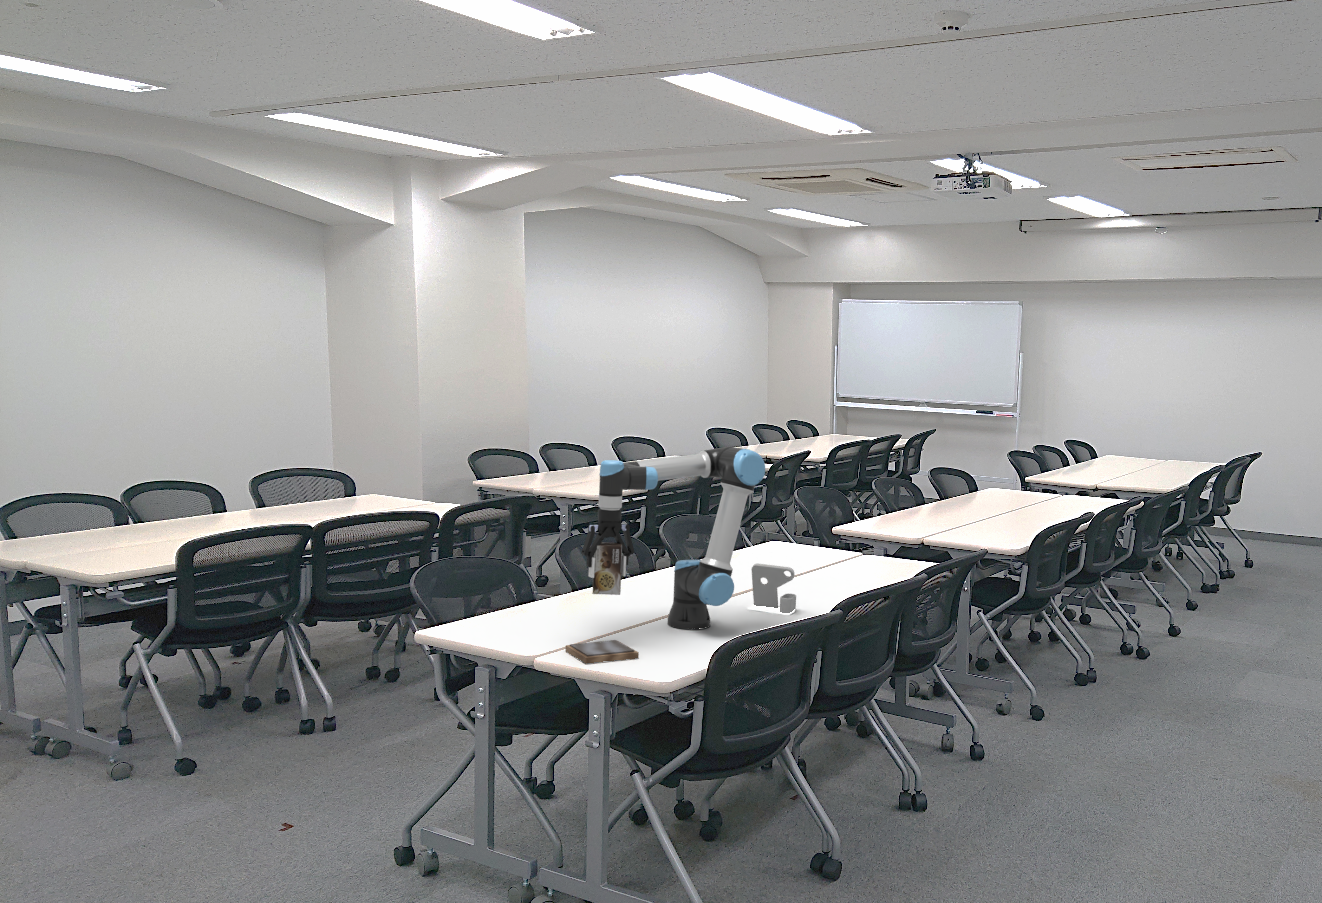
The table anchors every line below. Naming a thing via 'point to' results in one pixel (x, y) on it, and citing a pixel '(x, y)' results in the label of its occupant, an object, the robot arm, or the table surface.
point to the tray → (601, 651)
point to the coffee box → (607, 569)
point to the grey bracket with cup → (772, 587)
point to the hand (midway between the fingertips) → (607, 576)
